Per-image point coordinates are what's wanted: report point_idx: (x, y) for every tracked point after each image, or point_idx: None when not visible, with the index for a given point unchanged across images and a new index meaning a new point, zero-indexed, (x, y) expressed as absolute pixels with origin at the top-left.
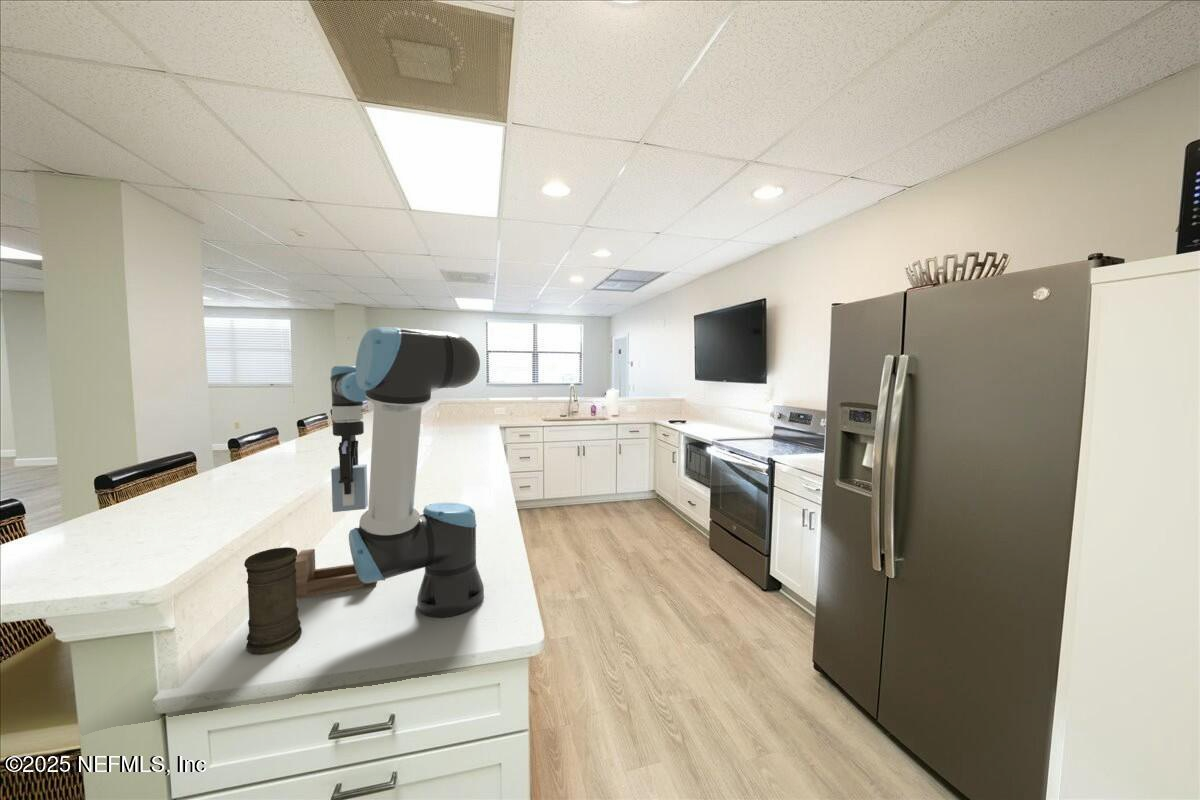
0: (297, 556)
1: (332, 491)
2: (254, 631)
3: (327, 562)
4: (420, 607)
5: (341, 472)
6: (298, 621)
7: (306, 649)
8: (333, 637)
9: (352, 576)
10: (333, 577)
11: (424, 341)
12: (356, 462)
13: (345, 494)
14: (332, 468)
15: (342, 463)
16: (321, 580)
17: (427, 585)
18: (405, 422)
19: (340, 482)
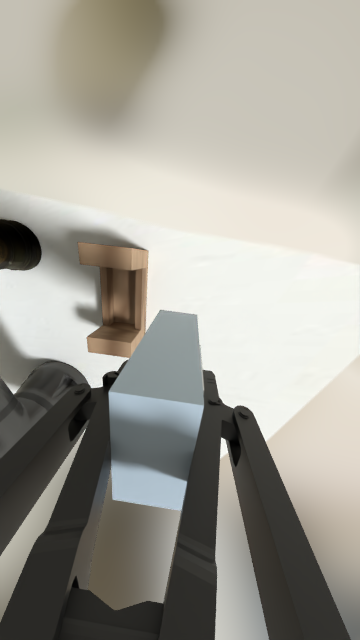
0: (103, 247)
1: (147, 332)
2: None
3: (213, 274)
4: (42, 365)
5: (42, 423)
6: (13, 268)
7: (4, 277)
8: (19, 297)
9: (102, 314)
10: (105, 294)
11: None
12: (238, 495)
13: (127, 361)
14: (134, 396)
15: None
16: (101, 280)
17: (24, 383)
18: None
19: (107, 377)
